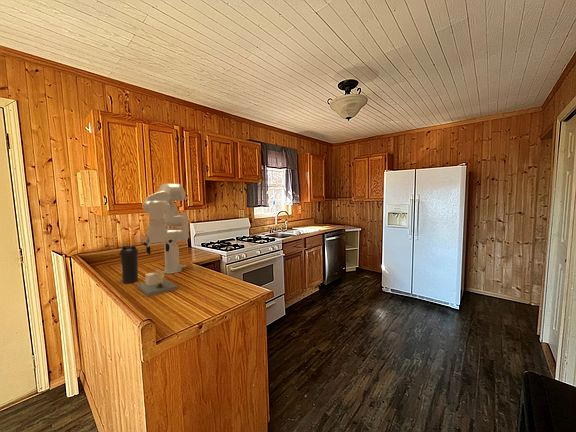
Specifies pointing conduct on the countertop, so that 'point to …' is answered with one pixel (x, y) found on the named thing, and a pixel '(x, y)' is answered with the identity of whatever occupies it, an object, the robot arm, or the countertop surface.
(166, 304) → the countertop surface
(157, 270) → the key
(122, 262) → the water bottle
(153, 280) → the cream rectangular block
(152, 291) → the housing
